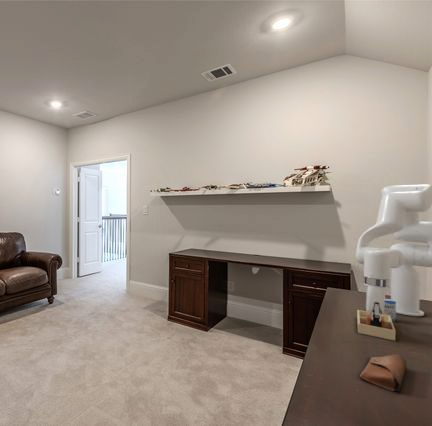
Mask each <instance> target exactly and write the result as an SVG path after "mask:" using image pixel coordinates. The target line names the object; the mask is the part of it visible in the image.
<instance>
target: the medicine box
mask: <svg viewBox="0 0 432 426" xmlns="http://www.w3.org/2000/svg"><path fill="white" fill-rule="evenodd" d="M369 312H370V311H369ZM384 315H390V317H391V320H392V322H394V323H395V322H396V319H397V318H396V315H397V313H396V302H395V301H394V300H392V299H391V298H385V306H384Z"/></svg>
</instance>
